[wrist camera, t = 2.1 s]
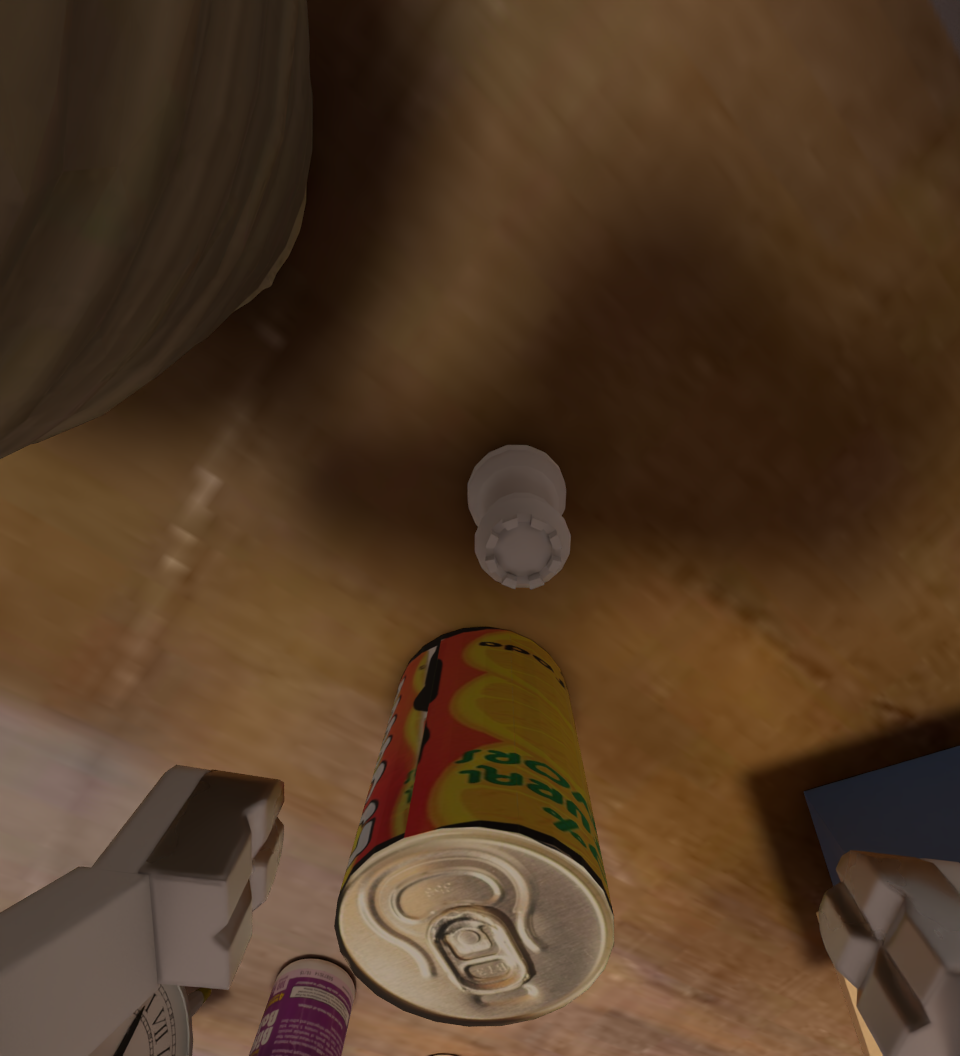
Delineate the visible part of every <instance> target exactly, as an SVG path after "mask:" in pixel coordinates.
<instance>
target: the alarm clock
mask: <svg viewBox="0 0 960 1056" xmlns="http://www.w3.org/2000/svg"><path fill="white" fill-rule="evenodd" d="M210 994H211V988H203V987H201V988H199V989H197V990H196V991H195V992H193V993H191V994H189V995H187V992H186V990H185V987H184V986H179V985H167V984H158V990H157V991H156V992H155V993H154V994H153V995H152V996H150V997H149V998H148V999H147V1000H146V1001H145V1002H144V1003H143V1004H142V1005H141V1006H140V1007H139V1008H138V1009H137V1010H136V1011H135V1012H134V1013H133V1014H132V1015H131V1016H129V1017H128V1018H127V1019H126V1020H125V1021H124V1022H123V1023H122V1024H121V1025H120V1026H119V1027H118V1028H117V1029H116V1030H115V1031H114V1032H113V1033H112V1034H111V1035H109V1036H108V1037H107V1038H106V1039H105V1040H104V1041H103V1042H102V1043H101V1044H100V1045H99V1046H98V1047H97V1048H96V1049H95V1050H94V1051H93V1052H92V1053H91V1054H90V1055H88V1056H192V1049H193V1033H192V1016H193V1015H194V1014H195V1013H196V1012H197V1010H198V1009H199V1008H200V1007H201V1006H202V1004H203V1003H204V1002H205V1001H206V1000H207V998H208V997H209V996H210Z"/></svg>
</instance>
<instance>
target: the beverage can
mask: <svg viewBox="0 0 960 1056" xmlns="http://www.w3.org/2000/svg"><path fill="white" fill-rule="evenodd" d="M334 927H335V931H336V935H337V939H338V944H339V948H340V952H341V953H342V955H343V957H344V958H345V960H346V962H347V963H348V965H349V966H350V968H351V970H352V971H353V973H354V974H355V976H356V977H357V978H359V979H360V980H361V981H362V982H363V983H364V984H365V985H366V986H367V987H368V988H369V989H370V990H372V991H373V992H374V993H375V994H376V995H377V996H379V997H381V998H382V999H384V1000H386V1001H388V1002H389V1003H391V1004H393V1005H395V1006H396V1007H398V1008H400V1009H402V1010H403V1011H406V1012H409V1013H412V1014H415V1015H418V1016H420V1017H423V1018H426V1019H429V1020H432V1021H435V1022H442V1023H448V1024H455V1025H462V1026H468V1027H470V1026H504V1025H509V1024H514V1023H518V1022H523V1021H528V1020H533V1019H536V1018H539V1017H541V1016H544V1015H546V1014H548V1013H551V1012H553V1011H556V1010H558V1009H560V1008H563V1007H565V1006H566V1005H567V1004H569V1003H570V1002H572V1001H573V1000H574V999H576V998H577V997H578V996H580V995H581V994H583V993H584V992H585V991H587V990H588V989H589V988H590V986H591V985H592V984H593V983H594V981H595V980H596V979H597V978H598V977H599V975H600V974H601V973H602V972H603V970H604V969H605V967H606V964H607V962H608V959H609V956H610V954H611V951H612V948H613V945H614V915H613V910H612V906H611V901H610V896H609V891H608V886H607V881H606V876H605V871H604V866H603V861H602V856H601V851H600V846H599V841H598V836H597V832H596V827H595V822H594V817H593V812H592V807H591V802H590V797H589V792H588V787H587V782H586V777H585V772H584V767H583V762H582V758H581V753H580V748H579V743H578V738H577V733H576V728H575V723H574V718H573V713H572V708H571V703H570V698H569V693H568V688H567V686H566V683H565V680H564V677H563V675H562V672H561V670H560V668H559V667H558V666H557V664H556V663H555V662H554V660H553V659H552V658H551V656H550V655H549V654H548V653H547V652H546V651H545V650H543V649H542V648H541V647H540V646H538V645H537V644H536V643H534V642H533V641H532V640H530V639H528V638H525V637H523V636H521V635H518V634H516V633H514V632H511V631H508V630H502V629H496V628H490V627H478V628H463V629H460V630H457V631H454V632H451V633H447V634H444V635H441V636H440V637H438V638H437V639H435V640H433V641H432V642H430V643H428V644H427V645H425V646H424V647H423V648H422V649H421V650H420V651H419V652H418V653H417V654H416V655H415V656H414V657H413V658H412V659H411V661H410V662H409V664H408V666H407V668H406V670H405V672H404V674H403V676H402V678H401V680H400V684H399V687H398V691H397V694H396V698H395V701H394V705H393V708H392V712H391V715H390V719H389V722H388V726H387V729H386V733H385V736H384V740H383V743H382V747H381V750H380V754H379V757H378V761H377V764H376V768H375V771H374V775H373V778H372V782H371V785H370V789H369V792H368V796H367V799H366V803H365V806H364V810H363V813H362V817H361V820H360V824H359V827H358V831H357V834H356V838H355V841H354V845H353V848H352V852H351V855H350V859H349V862H348V866H347V869H346V873H345V876H344V880H343V883H342V887H341V890H340V894H339V897H338V902H337V909H336V917H335V925H334Z"/></svg>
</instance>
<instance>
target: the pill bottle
mask: <svg viewBox="0 0 960 1056" xmlns="http://www.w3.org/2000/svg"><path fill="white" fill-rule="evenodd" d="M354 997H355V987H354V984H353V981H352V979H351V978H350V976H349V975H348V973H347V972H346V971H344V970H343V969H342V968H341V967H339V966H337V965H336V964H333V963H331V962H329V961H325V960H321V959H301V960H298V961H295V962H293V963H291V964H289V965H288V966H286V967H285V968H284V969H283V970H282V971H281V972H280V974H279V975H278V977H277V979H276V981H275V984H274V987H273V989H272V992H271V995H270V998H269V1000H268V1003H267V1006H266V1009H265V1012H264V1015H263V1018H262V1020H261V1023H260V1026H259V1029H258V1032H257V1035H256V1037H255V1040H254V1043H253V1046H252V1049H251V1051H250V1054H249V1056H341V1055H342V1051H343V1046H344V1041H345V1037H346V1032H347V1028H348V1023H349V1019H350V1014H351V1010H352V1005H353V1001H354Z"/></svg>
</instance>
